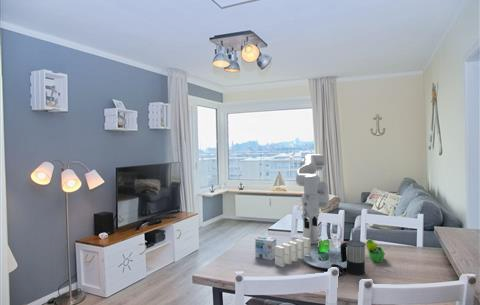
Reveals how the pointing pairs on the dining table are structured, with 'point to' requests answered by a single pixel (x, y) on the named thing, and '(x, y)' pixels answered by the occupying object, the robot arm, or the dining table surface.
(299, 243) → the domino
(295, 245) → the domino
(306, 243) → the domino
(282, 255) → the domino
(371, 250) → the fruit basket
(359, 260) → the milk frother
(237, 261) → the dining table surface
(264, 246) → the light bulb box
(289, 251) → the domino
